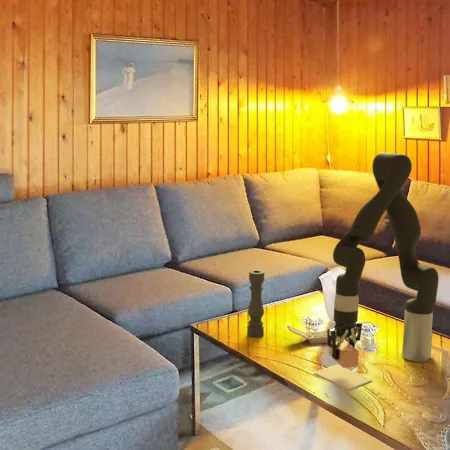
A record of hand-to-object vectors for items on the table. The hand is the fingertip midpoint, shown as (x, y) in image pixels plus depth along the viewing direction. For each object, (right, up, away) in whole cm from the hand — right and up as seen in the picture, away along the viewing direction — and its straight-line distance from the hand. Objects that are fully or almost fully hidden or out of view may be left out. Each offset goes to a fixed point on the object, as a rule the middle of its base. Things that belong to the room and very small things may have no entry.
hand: (343, 356), depth 202 cm
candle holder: (-26, 0, +37) cm, 46 cm away
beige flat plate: (0, -7, +1) cm, 7 cm away
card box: (0, -1, 0) cm, 1 cm away
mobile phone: (-2, -1, +33) cm, 33 cm away
